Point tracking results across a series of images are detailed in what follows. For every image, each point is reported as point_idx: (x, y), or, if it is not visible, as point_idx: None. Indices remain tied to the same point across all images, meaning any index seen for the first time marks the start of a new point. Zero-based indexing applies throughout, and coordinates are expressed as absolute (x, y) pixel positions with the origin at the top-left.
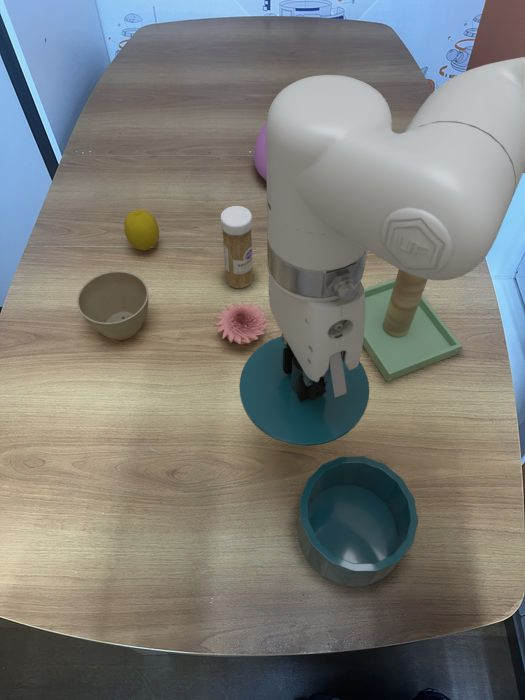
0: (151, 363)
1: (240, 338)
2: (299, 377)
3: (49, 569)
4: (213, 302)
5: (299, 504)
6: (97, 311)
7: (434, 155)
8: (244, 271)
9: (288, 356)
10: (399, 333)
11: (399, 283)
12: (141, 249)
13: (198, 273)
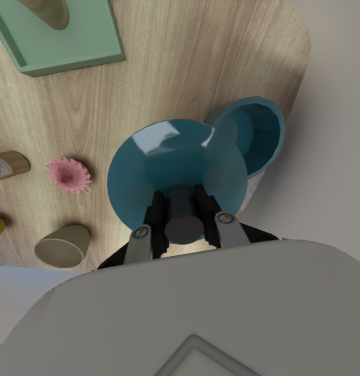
0: (105, 220)
1: (86, 180)
2: (209, 244)
3: (196, 251)
4: (49, 184)
5: None
6: (70, 247)
7: None
8: (6, 165)
9: (168, 242)
10: (63, 8)
11: None
12: (4, 225)
13: (19, 190)
